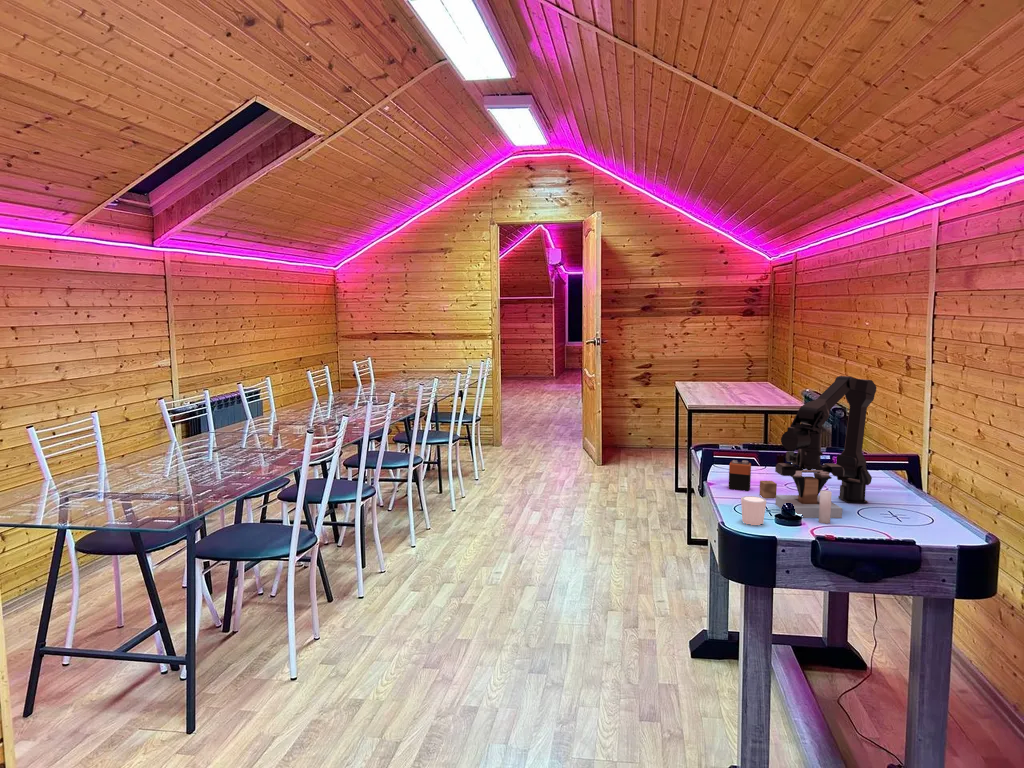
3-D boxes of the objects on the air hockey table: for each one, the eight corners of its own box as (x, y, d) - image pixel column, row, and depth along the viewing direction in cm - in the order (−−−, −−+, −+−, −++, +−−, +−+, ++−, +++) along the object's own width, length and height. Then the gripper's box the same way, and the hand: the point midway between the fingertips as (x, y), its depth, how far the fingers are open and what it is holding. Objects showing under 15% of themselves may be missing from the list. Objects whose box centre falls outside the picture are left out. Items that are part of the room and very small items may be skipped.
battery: (749, 491, 218) (750, 462, 217) (728, 489, 221) (729, 460, 220) (750, 488, 222) (751, 460, 221) (729, 486, 225) (730, 458, 224)
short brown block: (771, 495, 214) (772, 480, 213) (776, 498, 210) (776, 483, 209) (759, 495, 214) (760, 480, 213) (763, 498, 210) (764, 483, 209)
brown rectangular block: (816, 508, 194) (818, 479, 193) (803, 508, 194) (805, 479, 193) (811, 504, 198) (812, 476, 197) (798, 504, 198) (799, 476, 197)
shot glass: (753, 527, 180) (754, 503, 179) (735, 521, 186) (735, 497, 185) (770, 524, 183) (771, 500, 182) (751, 517, 189) (752, 494, 188)
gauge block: (819, 504, 203) (821, 476, 202) (851, 523, 183) (852, 493, 182) (775, 504, 203) (776, 476, 202) (802, 523, 183) (803, 492, 183)
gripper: (828, 442, 202) (826, 490, 203) (769, 441, 202) (767, 490, 204) (846, 449, 191) (843, 500, 192) (783, 448, 191) (781, 499, 192)
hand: (808, 497), depth 195 cm, fingers closed on brown rectangular block, 4 cm apart
